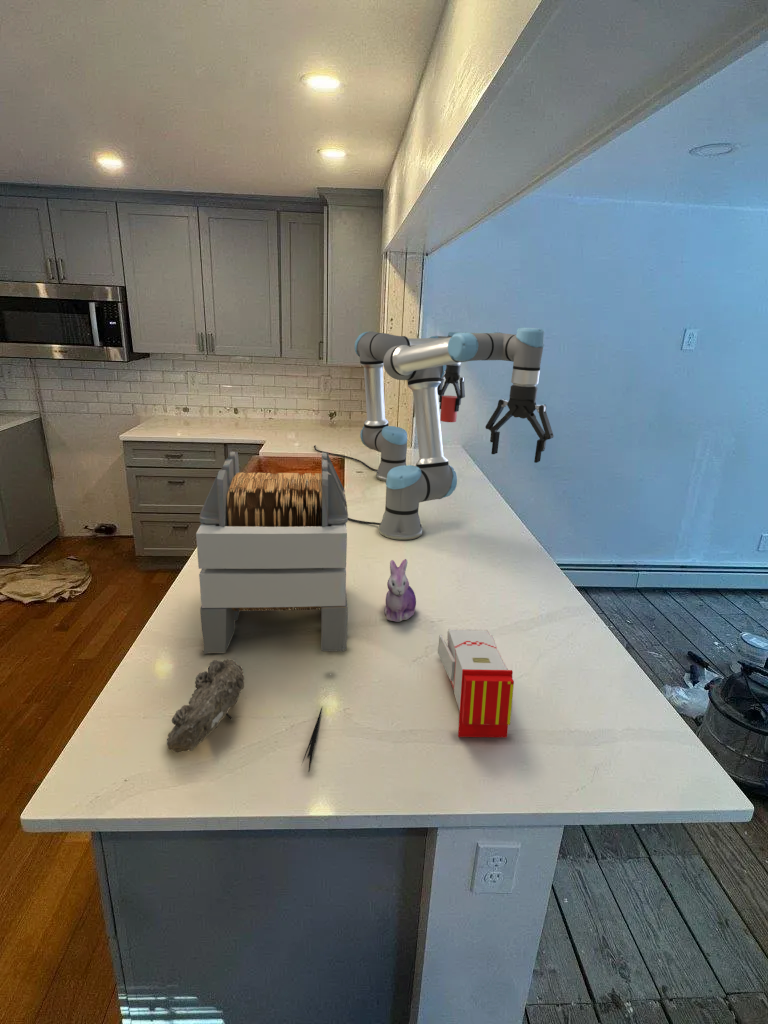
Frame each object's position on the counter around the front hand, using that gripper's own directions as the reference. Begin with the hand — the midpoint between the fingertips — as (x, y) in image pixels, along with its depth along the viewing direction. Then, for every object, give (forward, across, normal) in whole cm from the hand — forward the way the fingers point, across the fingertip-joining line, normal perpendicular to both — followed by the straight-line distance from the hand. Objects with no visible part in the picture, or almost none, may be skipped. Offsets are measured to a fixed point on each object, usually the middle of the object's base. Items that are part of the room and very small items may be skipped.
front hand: (515, 457), depth 168 cm
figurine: (+35, +7, +47) cm, 59 cm away
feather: (+35, -4, +90) cm, 97 cm away
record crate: (+35, +30, +68) cm, 82 cm away
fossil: (+35, +13, +102) cm, 109 cm away
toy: (+35, -22, +64) cm, 76 cm away
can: (+13, +79, -100) cm, 128 cm away
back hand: (+8, +79, -100) cm, 127 cm away
